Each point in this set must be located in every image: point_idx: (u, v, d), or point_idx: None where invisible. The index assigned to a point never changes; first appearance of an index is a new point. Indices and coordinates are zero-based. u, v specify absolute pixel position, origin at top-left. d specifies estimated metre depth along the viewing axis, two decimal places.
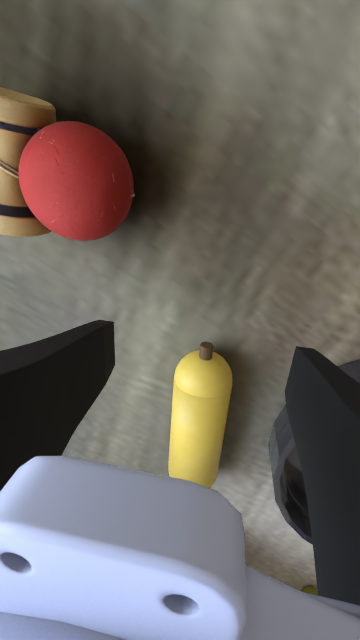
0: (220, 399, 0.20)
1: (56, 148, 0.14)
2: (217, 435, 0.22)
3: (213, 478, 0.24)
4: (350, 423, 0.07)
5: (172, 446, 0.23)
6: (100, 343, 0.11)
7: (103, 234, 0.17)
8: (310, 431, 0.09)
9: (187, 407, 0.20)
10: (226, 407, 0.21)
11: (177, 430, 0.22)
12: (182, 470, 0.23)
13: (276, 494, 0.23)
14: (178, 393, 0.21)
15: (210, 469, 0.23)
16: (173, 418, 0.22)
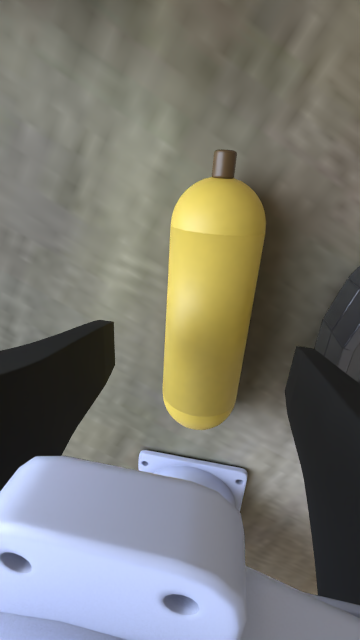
0: (247, 243, 0.12)
1: None
2: (241, 320, 0.14)
3: (231, 402, 0.16)
4: (350, 423, 0.07)
5: (168, 349, 0.15)
6: (100, 343, 0.11)
7: None
8: (310, 431, 0.09)
9: (193, 260, 0.12)
10: (255, 269, 0.13)
11: (175, 314, 0.14)
12: (183, 383, 0.15)
13: None
14: (177, 241, 0.13)
15: (227, 383, 0.15)
16: (169, 297, 0.14)
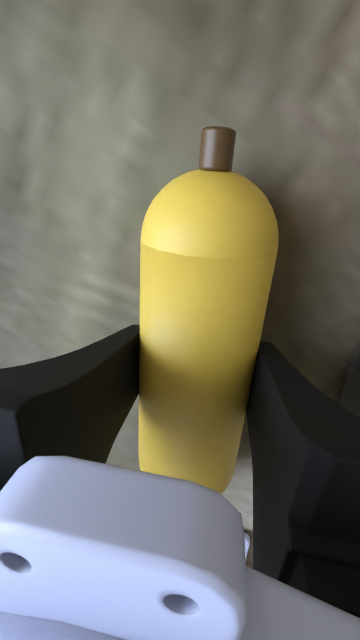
0: (252, 269, 0.08)
1: None
2: (242, 375, 0.09)
3: (228, 475, 0.12)
4: (278, 411, 0.07)
5: (142, 407, 0.11)
6: (138, 348, 0.11)
7: None
8: (258, 422, 0.09)
9: (170, 294, 0.08)
10: (263, 304, 0.09)
11: (149, 365, 0.10)
12: (162, 456, 0.11)
13: None
14: (148, 265, 0.09)
15: (223, 455, 0.11)
16: (141, 340, 0.10)
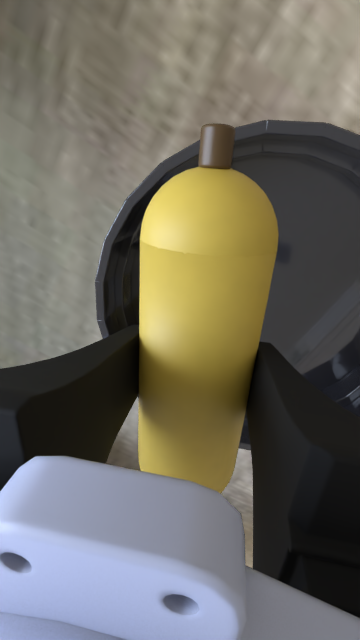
0: (252, 267, 0.08)
1: None
2: (241, 373, 0.09)
3: (228, 474, 0.12)
4: (279, 411, 0.07)
5: (141, 405, 0.11)
6: (138, 349, 0.11)
7: None
8: (258, 422, 0.09)
9: (170, 292, 0.08)
10: (263, 302, 0.09)
11: (149, 363, 0.10)
12: (161, 455, 0.11)
13: None
14: (147, 263, 0.09)
15: (223, 454, 0.11)
16: (141, 338, 0.10)
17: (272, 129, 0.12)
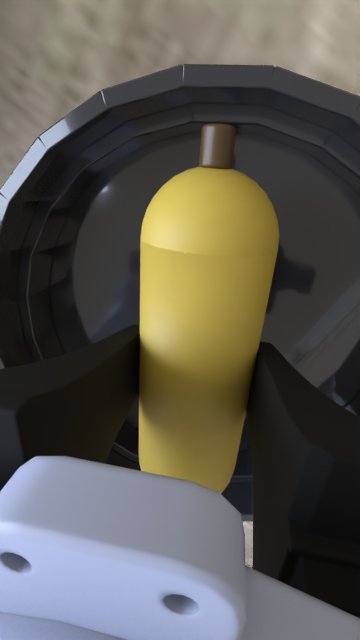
0: (253, 267, 0.08)
1: None
2: (242, 374, 0.09)
3: (228, 474, 0.12)
4: (278, 412, 0.07)
5: (142, 405, 0.11)
6: (138, 349, 0.11)
7: None
8: (258, 422, 0.09)
9: (170, 292, 0.08)
10: (264, 302, 0.09)
11: (149, 363, 0.10)
12: (162, 455, 0.11)
13: None
14: (148, 263, 0.09)
15: (223, 454, 0.11)
16: (141, 338, 0.10)
17: (192, 79, 0.08)
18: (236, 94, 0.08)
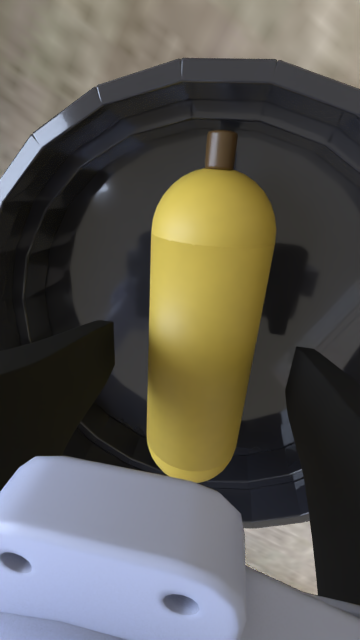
0: (253, 257, 0.09)
1: None
2: (243, 355, 0.10)
3: (230, 451, 0.13)
4: (350, 423, 0.07)
5: (151, 387, 0.12)
6: (100, 343, 0.11)
7: None
8: (310, 431, 0.09)
9: (179, 280, 0.09)
10: (263, 290, 0.10)
11: (159, 346, 0.11)
12: (170, 432, 0.12)
13: None
14: (159, 254, 0.09)
15: (226, 431, 0.12)
16: (151, 324, 0.11)
17: (191, 74, 0.08)
18: (237, 90, 0.08)
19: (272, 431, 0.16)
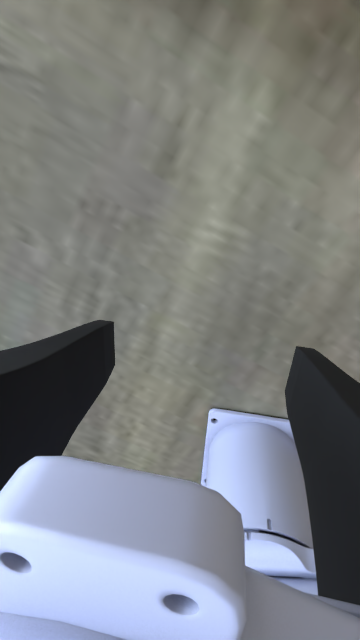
0: None
1: None
2: None
3: None
4: (350, 423, 0.07)
5: None
6: (100, 343, 0.11)
7: None
8: (310, 431, 0.09)
9: None
10: None
11: None
12: None
13: None
14: None
15: None
16: None
17: None
18: None
19: None
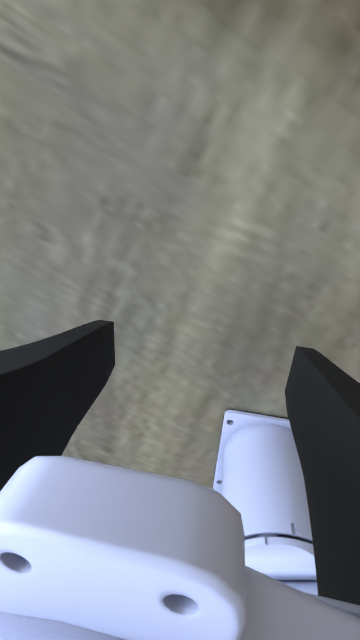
0: None
1: None
2: None
3: None
4: (349, 423, 0.07)
5: None
6: (100, 343, 0.11)
7: None
8: (310, 431, 0.09)
9: None
10: None
11: None
12: None
13: None
14: None
15: None
16: None
17: None
18: None
19: None
